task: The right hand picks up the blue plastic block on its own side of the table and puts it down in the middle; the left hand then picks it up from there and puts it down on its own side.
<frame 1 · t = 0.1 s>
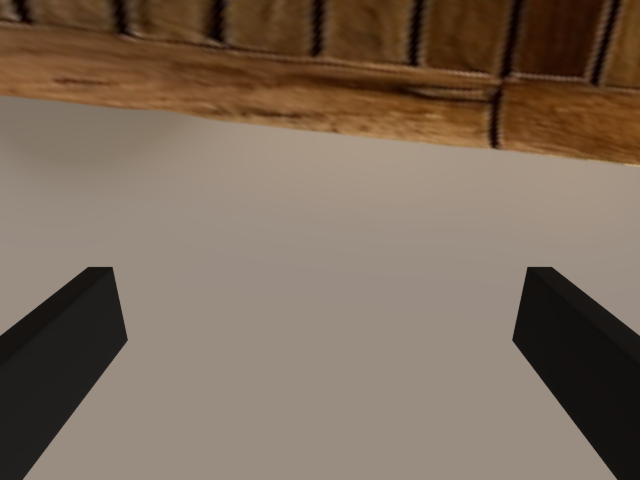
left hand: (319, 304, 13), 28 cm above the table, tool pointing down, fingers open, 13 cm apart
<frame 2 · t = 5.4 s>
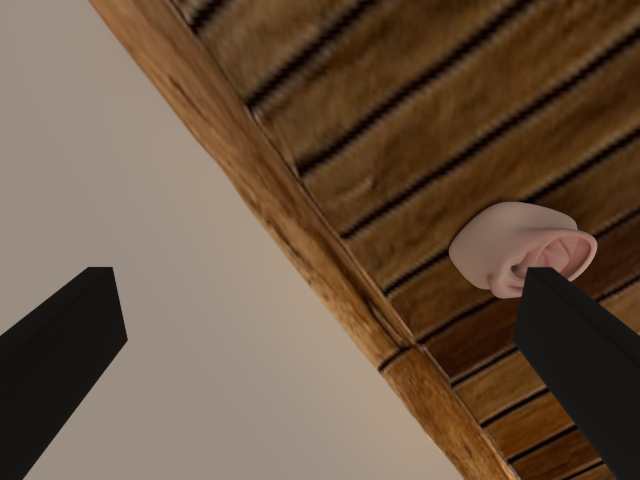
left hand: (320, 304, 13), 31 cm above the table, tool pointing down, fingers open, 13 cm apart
anatomical model: (510, 247, 45), on the table
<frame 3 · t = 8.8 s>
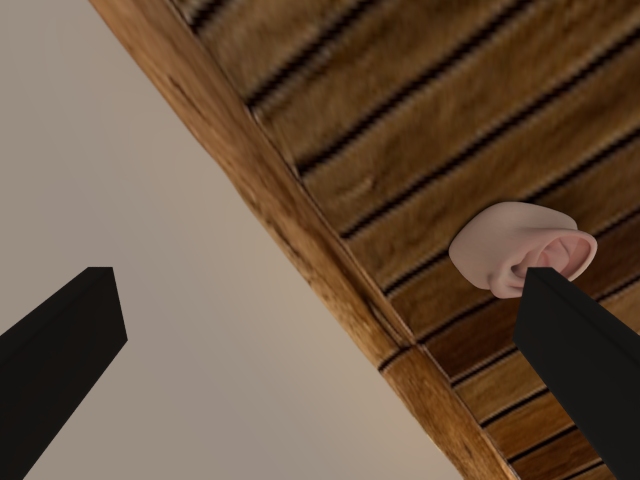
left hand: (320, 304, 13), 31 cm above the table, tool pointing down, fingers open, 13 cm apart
anatomical model: (510, 247, 45), on the table
when the right hand's fingers open (3 cm above the table, at t = 12.1 s): block drops 1 cm, on the table.
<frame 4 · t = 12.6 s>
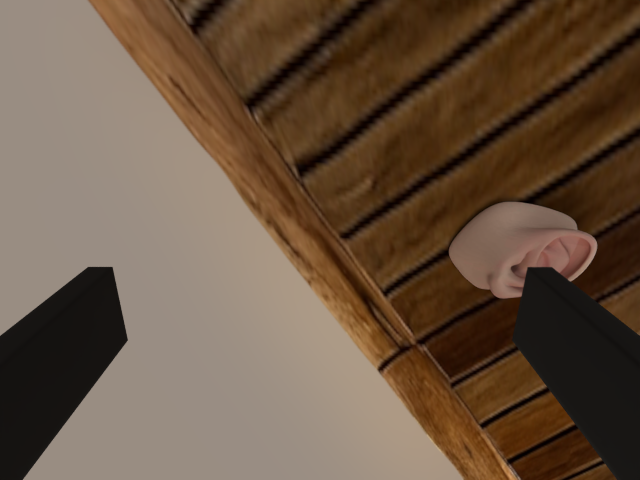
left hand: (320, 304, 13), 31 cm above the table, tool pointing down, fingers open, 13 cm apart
anatomical model: (510, 247, 45), on the table
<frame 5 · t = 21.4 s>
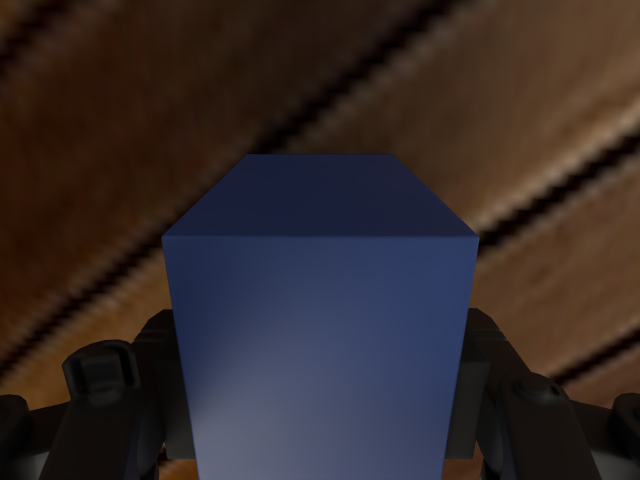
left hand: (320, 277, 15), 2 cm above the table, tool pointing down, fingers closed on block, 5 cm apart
block: (320, 259, 16), on the table, touching left hand
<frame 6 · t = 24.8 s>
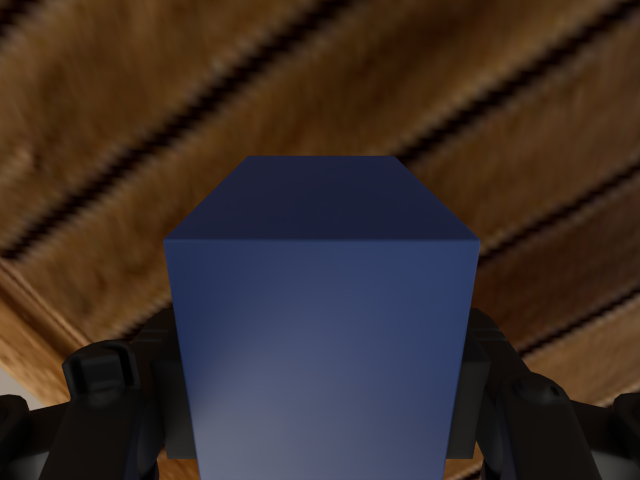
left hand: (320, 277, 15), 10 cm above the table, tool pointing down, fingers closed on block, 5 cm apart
block: (320, 260, 16), point 8 cm above the table, touching left hand
when the left hand's fingers open (3 cm above the table, at t = 28.1 s): block drops 1 cm, on the table.
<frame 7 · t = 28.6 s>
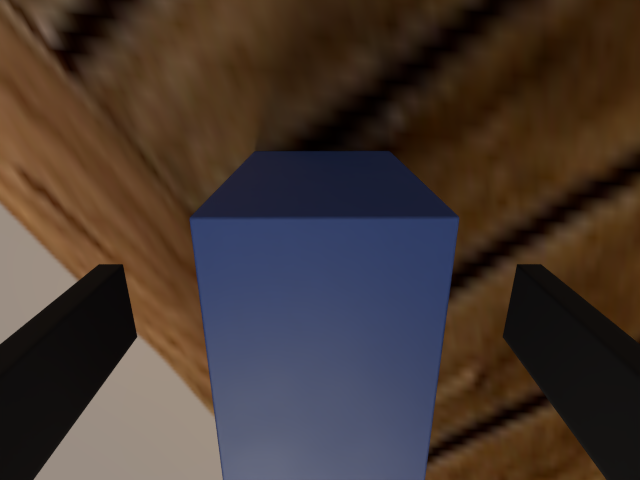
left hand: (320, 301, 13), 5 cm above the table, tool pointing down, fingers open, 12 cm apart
block: (322, 248, 18), on the table
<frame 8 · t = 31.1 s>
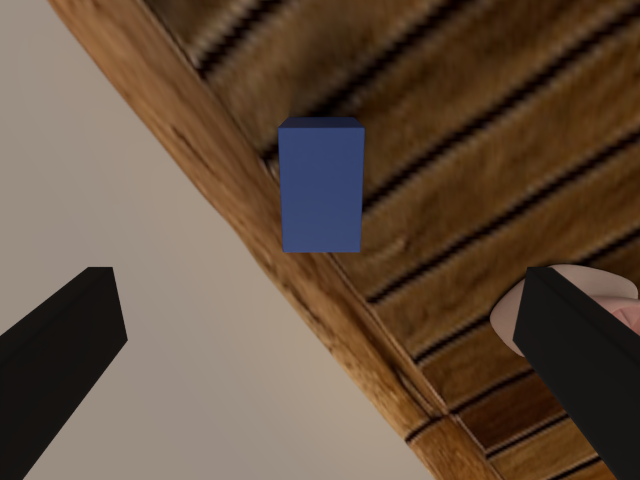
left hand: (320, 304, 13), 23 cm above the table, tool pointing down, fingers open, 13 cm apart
anatomical model: (559, 312, 40), on the table
block: (321, 168, 34), on the table
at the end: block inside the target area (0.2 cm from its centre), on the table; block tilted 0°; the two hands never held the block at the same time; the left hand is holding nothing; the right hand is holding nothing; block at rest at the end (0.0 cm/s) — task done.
